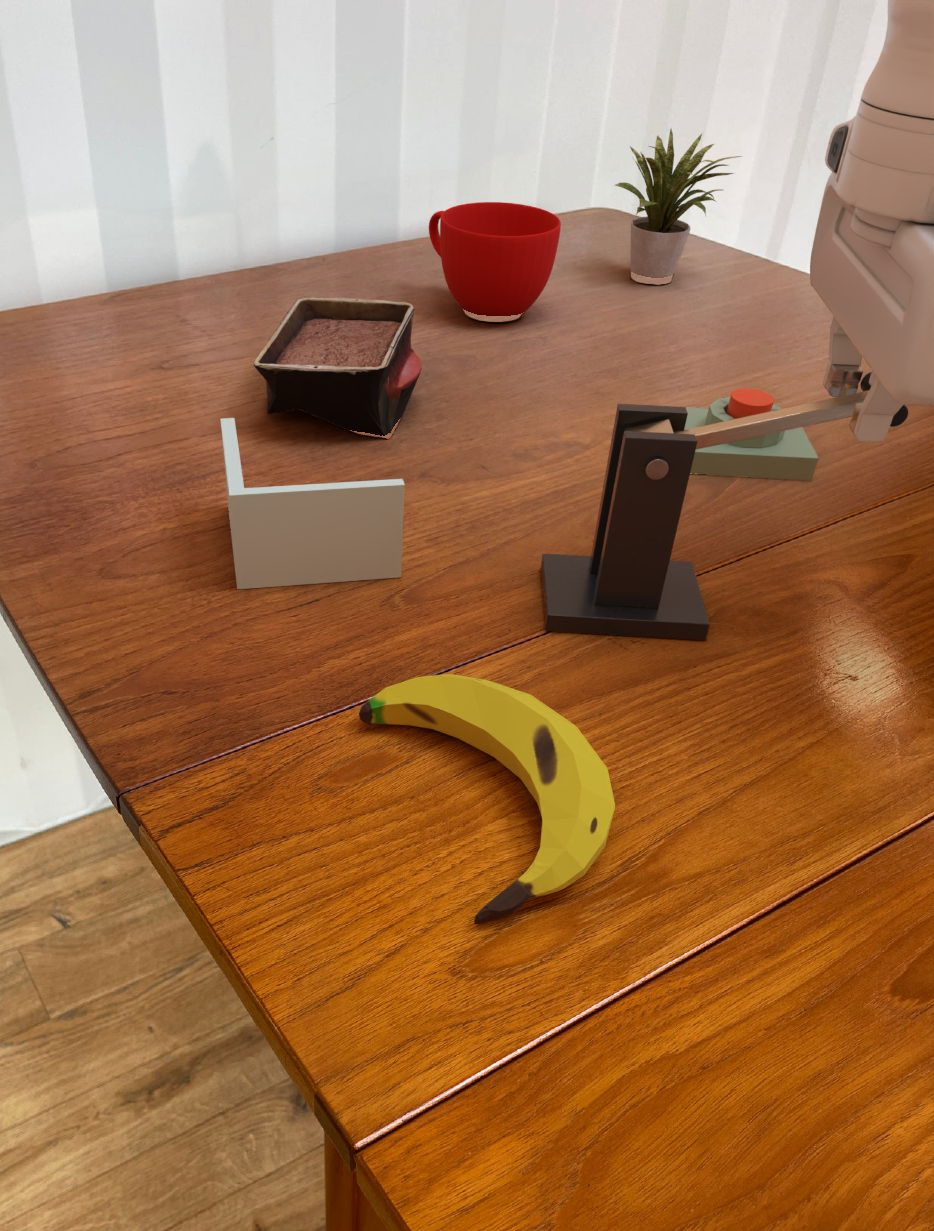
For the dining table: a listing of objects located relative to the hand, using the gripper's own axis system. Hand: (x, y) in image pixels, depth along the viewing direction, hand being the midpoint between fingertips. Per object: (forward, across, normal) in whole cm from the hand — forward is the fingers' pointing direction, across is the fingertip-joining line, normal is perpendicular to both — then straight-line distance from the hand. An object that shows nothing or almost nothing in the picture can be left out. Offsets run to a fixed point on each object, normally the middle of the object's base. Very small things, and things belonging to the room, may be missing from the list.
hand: (851, 414), depth 65 cm
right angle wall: (+15, +6, +35) cm, 38 cm away
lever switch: (+2, 0, +5) cm, 5 cm away
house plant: (+15, +71, +1) cm, 73 cm away
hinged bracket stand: (+15, 0, +12) cm, 19 cm away
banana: (+15, -21, +23) cm, 34 cm away
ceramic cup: (+15, +59, +22) cm, 65 cm away
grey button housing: (+15, +25, -1) cm, 29 cm away
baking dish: (+15, +31, +35) cm, 49 cm away
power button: (+11, +25, -1) cm, 28 cm away
